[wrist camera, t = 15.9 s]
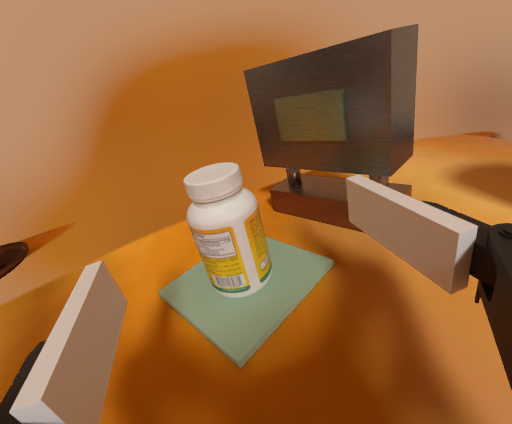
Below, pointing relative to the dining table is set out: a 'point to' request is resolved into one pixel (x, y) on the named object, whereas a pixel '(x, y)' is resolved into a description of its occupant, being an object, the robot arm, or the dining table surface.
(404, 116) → the mounted unit
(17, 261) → the brown top hat
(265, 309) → the green mat
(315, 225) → the dining table surface
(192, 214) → the supplement bottle
